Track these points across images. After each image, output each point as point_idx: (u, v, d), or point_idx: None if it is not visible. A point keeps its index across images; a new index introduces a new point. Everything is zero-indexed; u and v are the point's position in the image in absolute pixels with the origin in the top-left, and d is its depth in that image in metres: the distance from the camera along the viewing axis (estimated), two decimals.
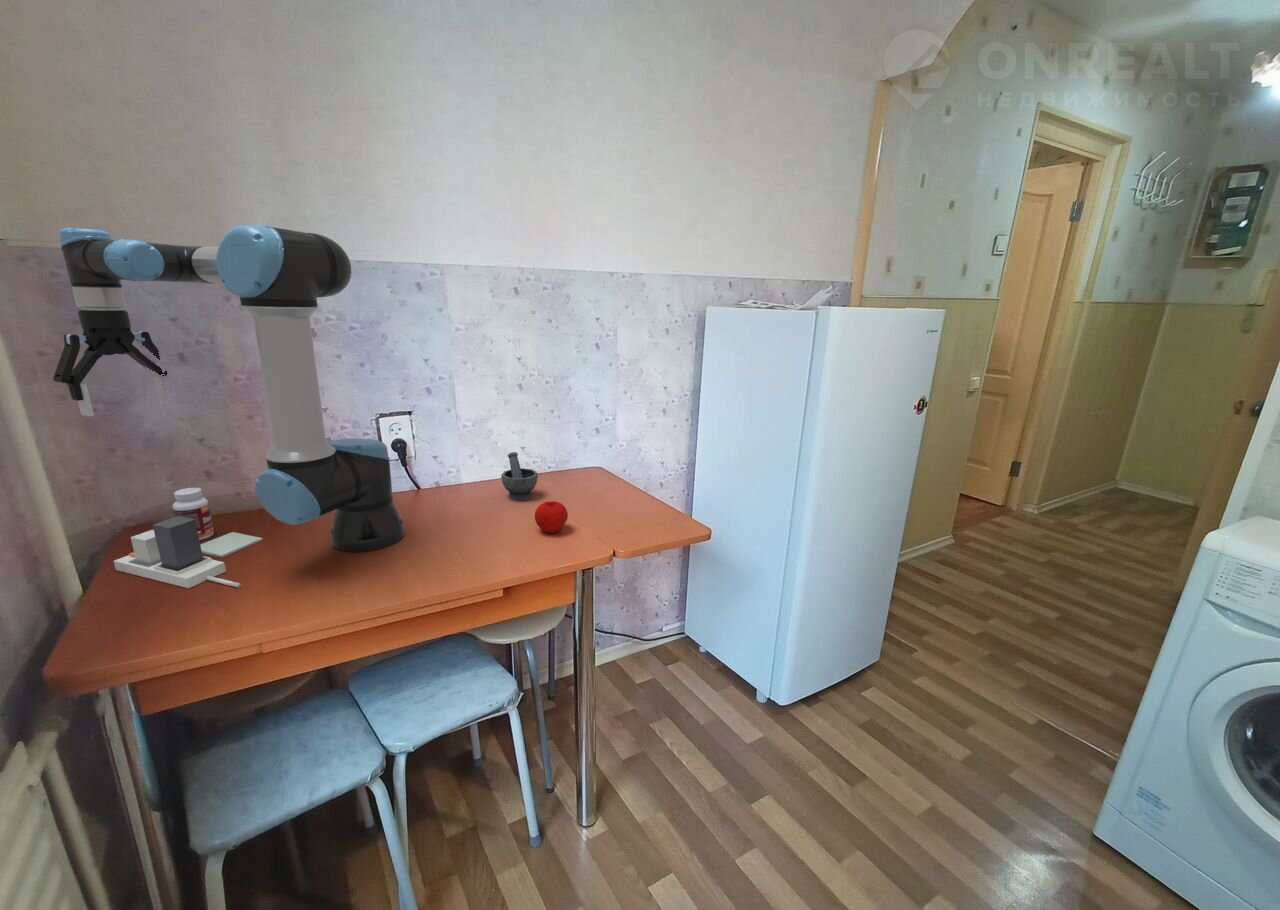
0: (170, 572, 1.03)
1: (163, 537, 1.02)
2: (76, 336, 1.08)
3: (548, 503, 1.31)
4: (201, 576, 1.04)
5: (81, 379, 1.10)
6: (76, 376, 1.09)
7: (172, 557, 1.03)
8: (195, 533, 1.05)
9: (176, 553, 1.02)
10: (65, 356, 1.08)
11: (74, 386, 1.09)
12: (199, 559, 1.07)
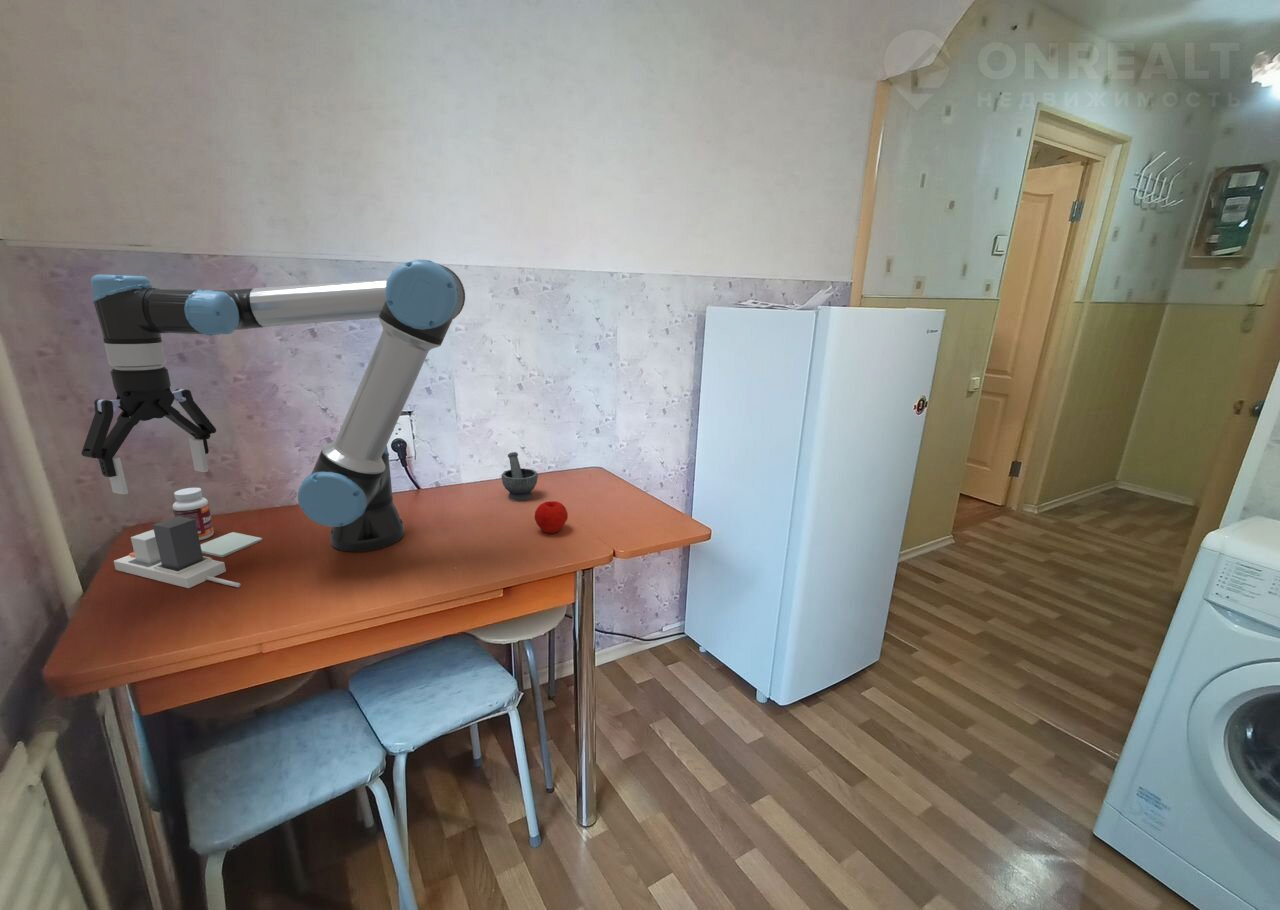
0: (170, 572, 1.03)
1: (163, 537, 1.02)
2: (109, 402, 0.91)
3: (548, 503, 1.31)
4: (201, 576, 1.04)
5: (114, 452, 0.92)
6: (108, 449, 0.92)
7: (172, 557, 1.03)
8: (195, 533, 1.05)
9: (176, 553, 1.02)
10: (95, 426, 0.90)
11: (106, 461, 0.92)
12: (199, 559, 1.07)
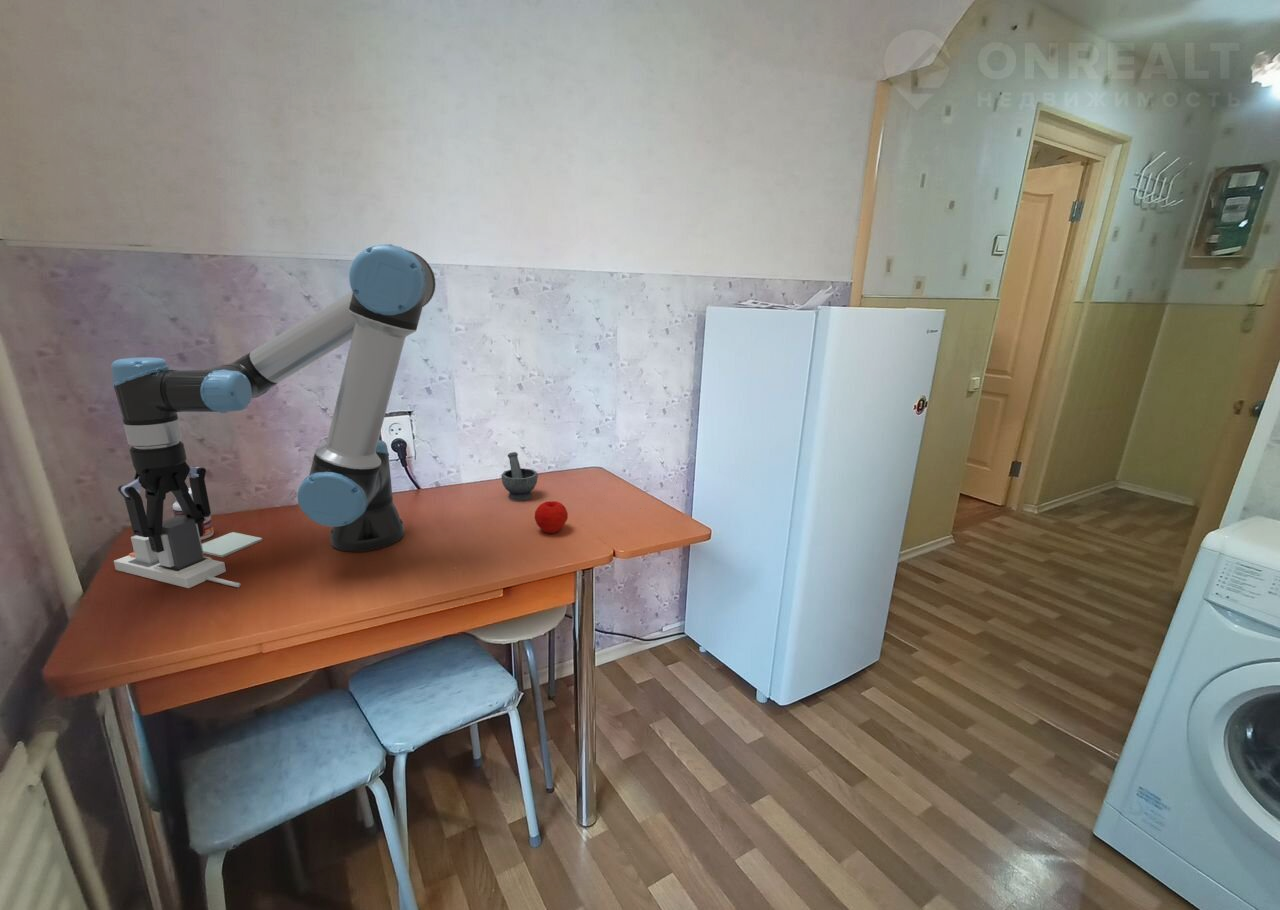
0: (170, 572, 1.03)
1: None
2: (131, 488, 0.95)
3: (548, 503, 1.31)
4: (201, 576, 1.04)
5: (160, 528, 1.00)
6: (154, 528, 0.99)
7: None
8: (195, 533, 1.05)
9: (176, 553, 1.02)
10: (132, 510, 0.97)
11: (155, 538, 1.00)
12: (200, 559, 1.07)
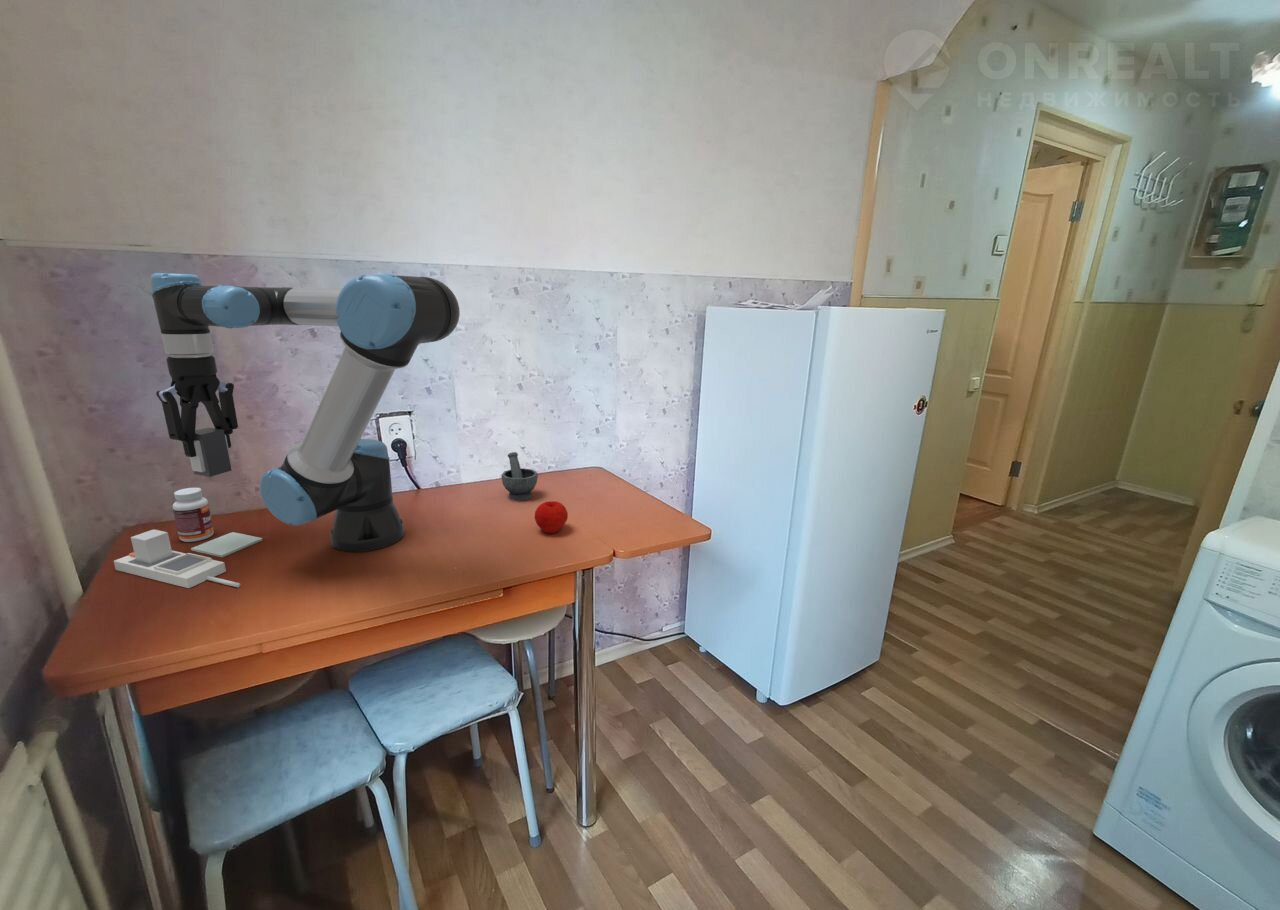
0: (170, 572, 1.03)
1: None
2: (168, 393, 1.03)
3: (548, 503, 1.31)
4: (201, 576, 1.04)
5: (193, 434, 1.09)
6: (188, 434, 1.08)
7: None
8: (224, 443, 1.14)
9: (207, 459, 1.11)
10: (168, 414, 1.05)
11: (188, 443, 1.08)
12: (228, 467, 1.15)
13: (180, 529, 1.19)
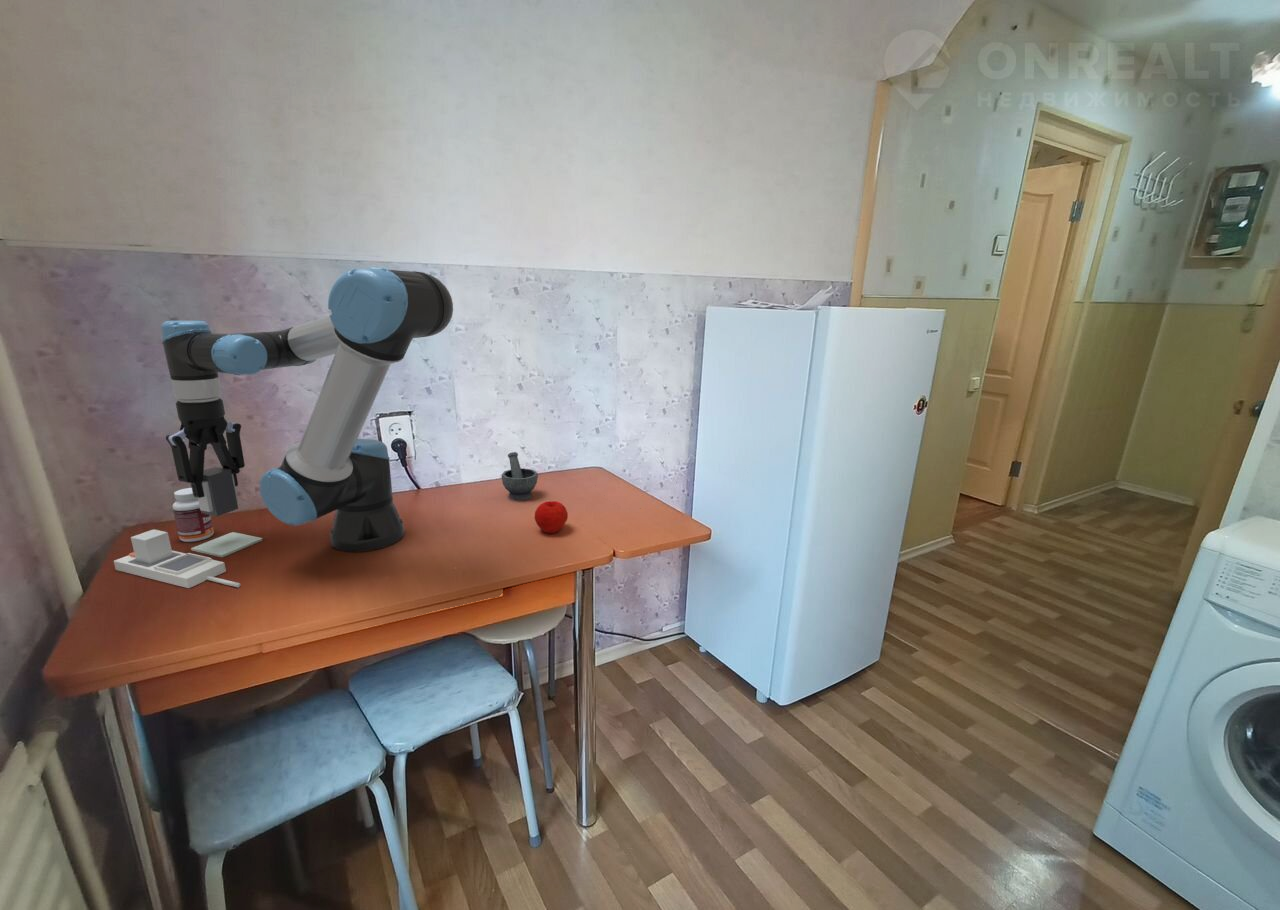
0: (170, 572, 1.03)
1: None
2: (178, 437, 1.06)
3: (548, 503, 1.31)
4: (201, 576, 1.04)
5: (202, 476, 1.11)
6: (196, 475, 1.10)
7: None
8: (231, 482, 1.16)
9: (215, 499, 1.13)
10: (178, 458, 1.07)
11: (197, 484, 1.11)
12: (235, 506, 1.17)
13: (180, 529, 1.19)
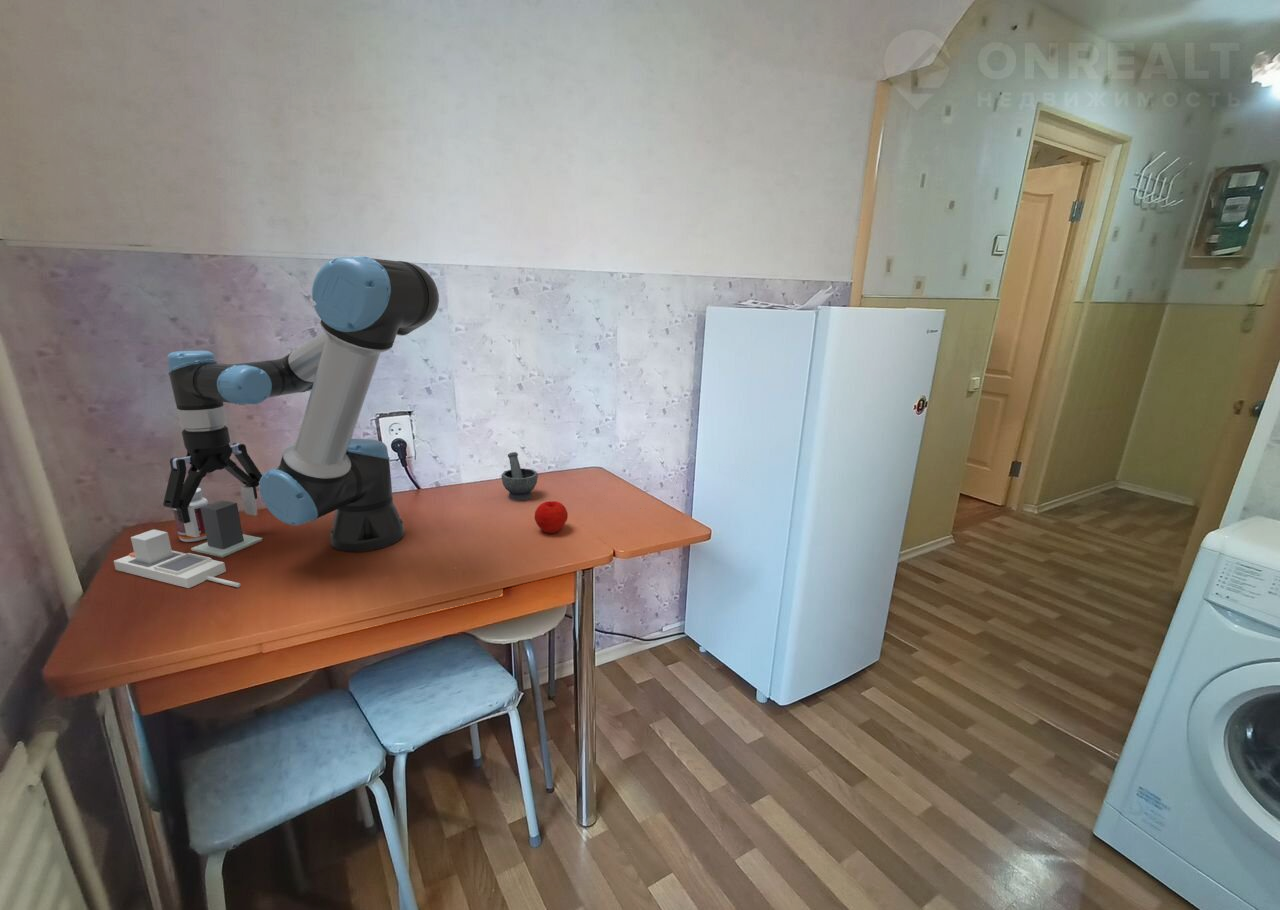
0: (170, 572, 1.03)
1: (209, 518, 1.15)
2: (182, 460, 1.07)
3: (548, 503, 1.31)
4: (201, 576, 1.04)
5: (189, 502, 1.09)
6: (184, 500, 1.08)
7: (217, 536, 1.15)
8: (237, 515, 1.18)
9: (221, 532, 1.15)
10: (173, 481, 1.07)
11: (182, 510, 1.09)
12: (240, 538, 1.19)
13: (180, 529, 1.19)
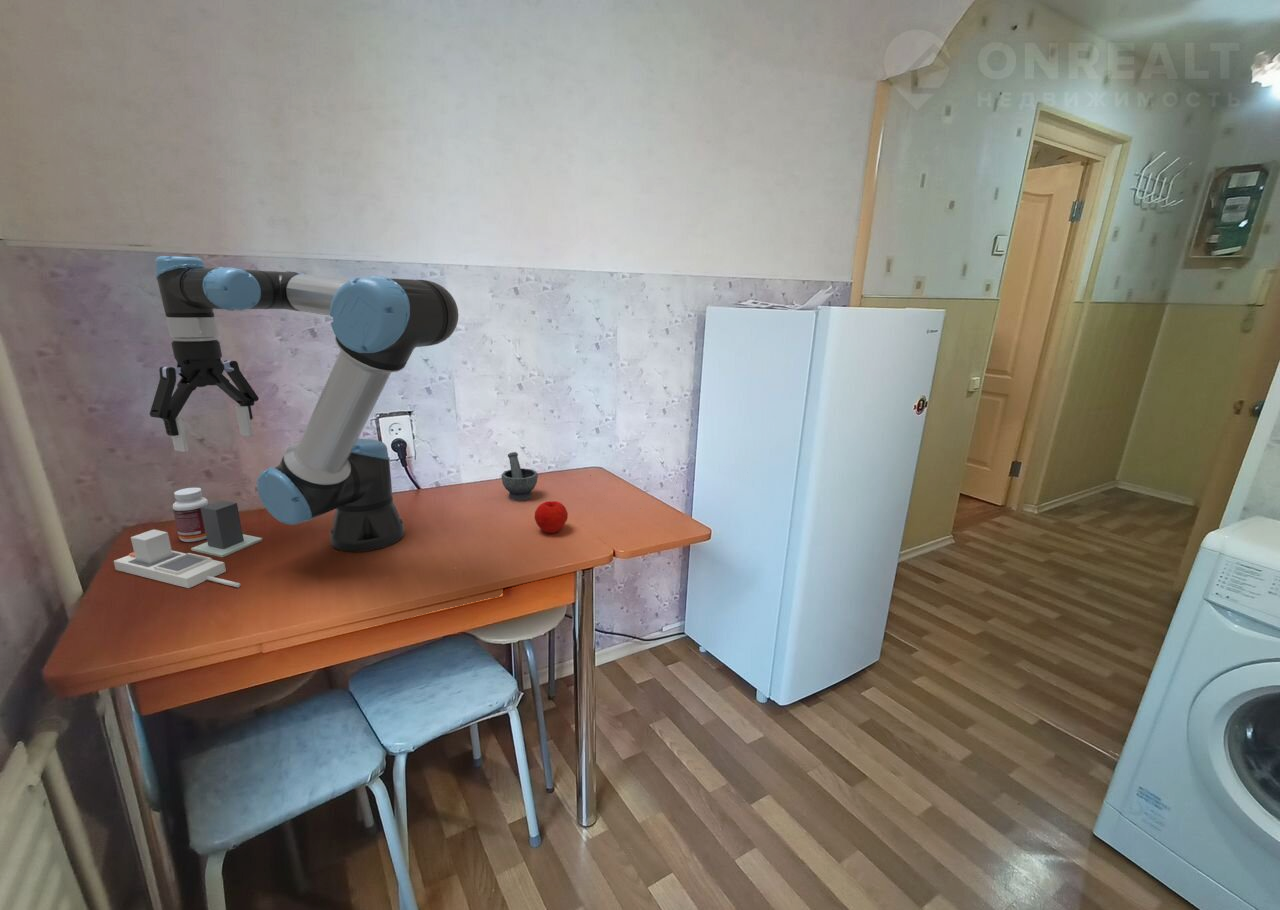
0: (170, 572, 1.03)
1: (209, 518, 1.15)
2: (173, 369, 1.03)
3: (548, 503, 1.31)
4: (201, 576, 1.04)
5: (177, 413, 1.05)
6: (172, 410, 1.04)
7: (217, 536, 1.15)
8: (237, 515, 1.18)
9: (221, 532, 1.15)
10: (161, 390, 1.03)
11: (170, 421, 1.04)
12: (240, 538, 1.19)
13: (180, 529, 1.19)
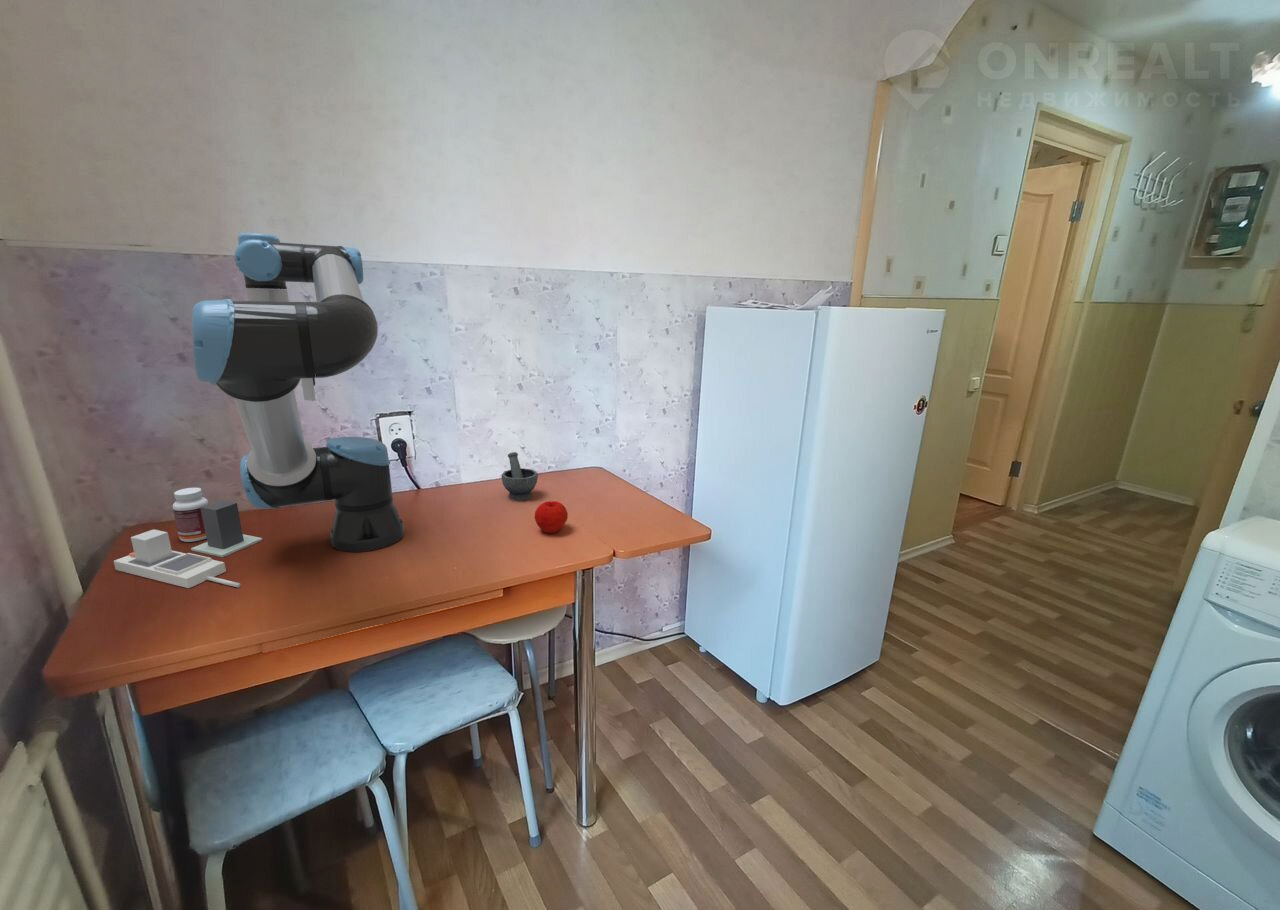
0: (170, 572, 1.03)
1: (209, 518, 1.15)
2: None
3: (548, 503, 1.31)
4: (201, 576, 1.04)
5: None
6: None
7: (217, 536, 1.15)
8: (237, 515, 1.18)
9: (221, 532, 1.15)
10: None
11: None
12: (240, 538, 1.19)
13: (180, 529, 1.19)
